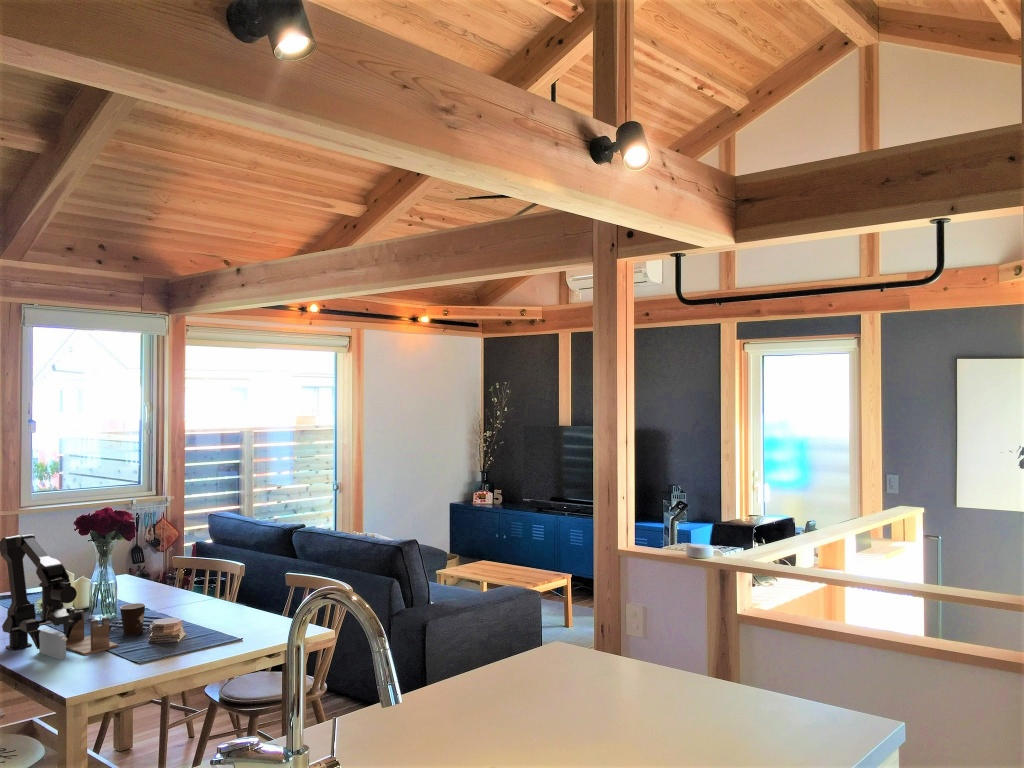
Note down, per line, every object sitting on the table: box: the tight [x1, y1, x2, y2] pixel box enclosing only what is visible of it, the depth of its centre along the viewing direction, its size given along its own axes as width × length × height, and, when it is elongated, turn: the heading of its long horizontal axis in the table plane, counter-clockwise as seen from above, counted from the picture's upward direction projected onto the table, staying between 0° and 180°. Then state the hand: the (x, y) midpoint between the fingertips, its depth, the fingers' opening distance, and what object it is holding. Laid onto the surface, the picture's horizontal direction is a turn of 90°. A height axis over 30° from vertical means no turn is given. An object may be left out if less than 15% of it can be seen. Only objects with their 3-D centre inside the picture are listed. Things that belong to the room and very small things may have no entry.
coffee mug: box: [119, 602, 146, 636], centre depth 314 cm, size 12×9×10 cm
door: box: [38, 628, 67, 661], centre depth 287 cm, size 19×2×8 cm, turn 54°
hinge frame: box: [66, 609, 120, 656], centre depth 296 cm, size 20×12×11 cm, turn 53°
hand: (52, 645), depth 287 cm, fingers open, 9 cm apart
